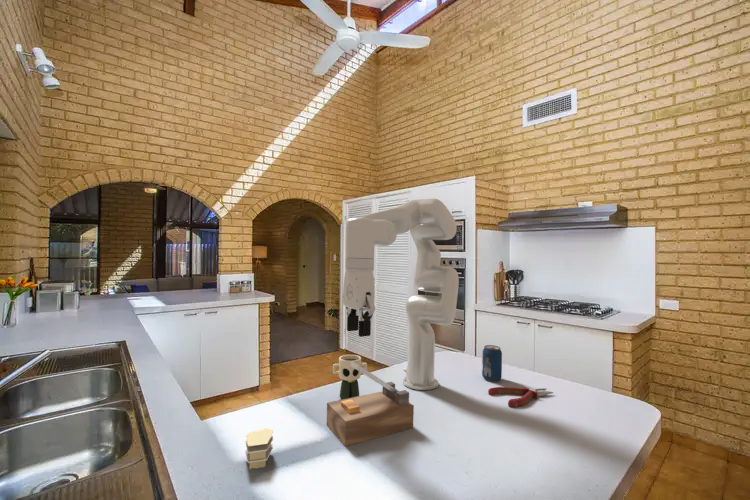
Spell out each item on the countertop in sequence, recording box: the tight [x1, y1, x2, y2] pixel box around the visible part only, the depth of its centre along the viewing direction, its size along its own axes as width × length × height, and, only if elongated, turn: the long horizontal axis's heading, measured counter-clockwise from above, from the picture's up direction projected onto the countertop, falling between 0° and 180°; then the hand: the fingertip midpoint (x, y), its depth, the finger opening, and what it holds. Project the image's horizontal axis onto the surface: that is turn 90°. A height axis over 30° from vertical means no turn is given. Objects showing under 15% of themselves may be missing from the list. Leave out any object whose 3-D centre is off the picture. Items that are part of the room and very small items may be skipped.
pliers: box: [487, 386, 554, 408], centre depth 120 cm, size 12×21×3 cm, turn 110°
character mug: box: [332, 354, 368, 400], centre depth 116 cm, size 11×7×13 cm, turn 100°
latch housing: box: [326, 381, 415, 447], centre depth 98 cm, size 12×20×9 cm, turn 119°
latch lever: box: [350, 361, 399, 394], centre depth 98 cm, size 5×17×1 cm
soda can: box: [481, 344, 503, 383], centre depth 136 cm, size 7×7×12 cm
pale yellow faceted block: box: [245, 428, 274, 470], centre depth 81 cm, size 10×9×6 cm
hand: (358, 332), depth 96 cm, fingers open, 6 cm apart
